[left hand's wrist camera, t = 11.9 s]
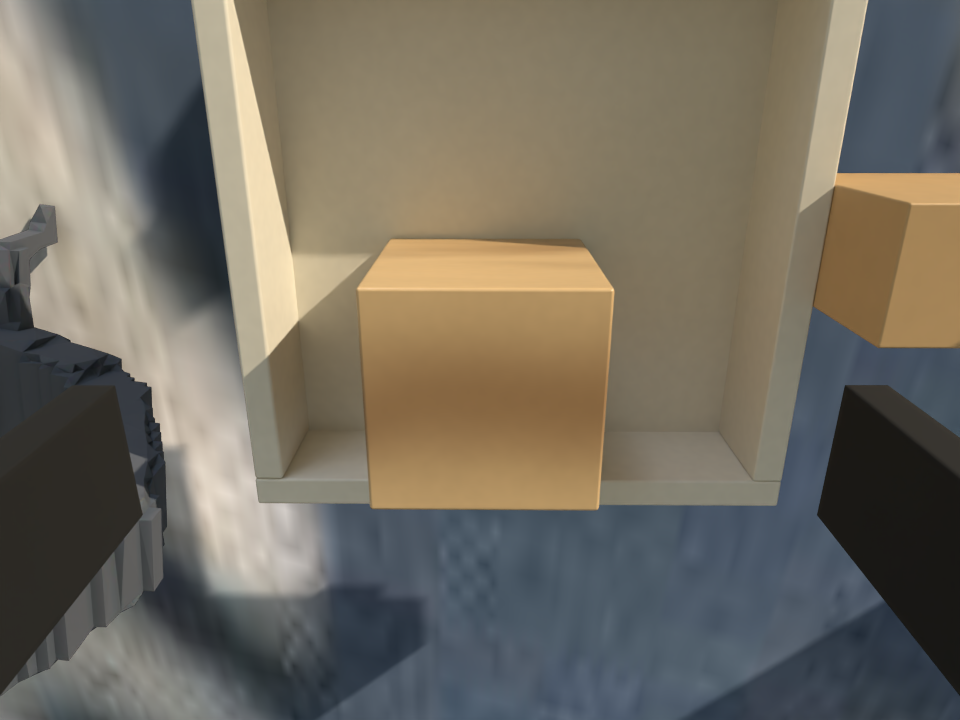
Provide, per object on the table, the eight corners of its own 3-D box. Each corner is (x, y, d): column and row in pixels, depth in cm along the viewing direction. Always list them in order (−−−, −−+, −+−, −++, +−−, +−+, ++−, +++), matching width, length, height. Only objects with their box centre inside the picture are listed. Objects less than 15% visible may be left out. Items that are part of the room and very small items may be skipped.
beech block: (389, 238, 20) (354, 288, 14) (581, 238, 20) (615, 288, 14) (397, 412, 22) (369, 510, 16) (572, 413, 21) (599, 512, 16)
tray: (235, -67, 17) (97, -157, 11) (1370, -69, 17) (1864, -162, 11) (291, 443, 23) (219, 573, 16) (1162, 447, 22) (1419, 580, 16)
